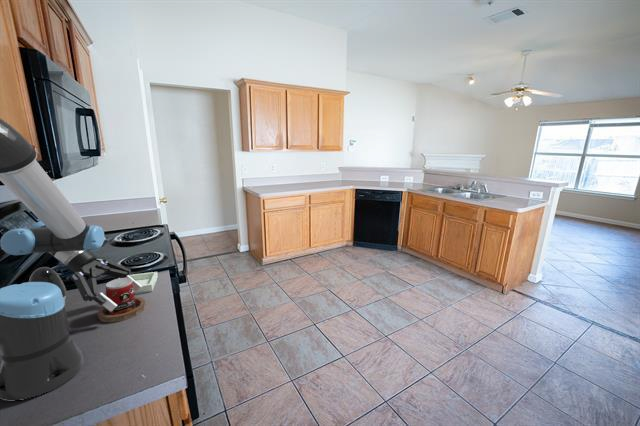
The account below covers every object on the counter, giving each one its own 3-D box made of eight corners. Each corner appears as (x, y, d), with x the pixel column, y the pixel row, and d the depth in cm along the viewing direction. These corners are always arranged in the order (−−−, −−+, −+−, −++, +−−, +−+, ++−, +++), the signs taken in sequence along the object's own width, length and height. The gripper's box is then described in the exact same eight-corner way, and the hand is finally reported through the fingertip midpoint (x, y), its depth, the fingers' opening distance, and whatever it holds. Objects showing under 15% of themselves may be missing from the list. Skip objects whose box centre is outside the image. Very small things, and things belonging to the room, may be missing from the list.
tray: (152, 291, 112) (151, 284, 111) (110, 297, 107) (109, 290, 106) (157, 277, 125) (157, 271, 124) (120, 282, 119) (120, 276, 119)
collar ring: (140, 317, 94) (140, 312, 94) (92, 325, 89) (91, 320, 89) (148, 299, 106) (148, 294, 106) (106, 305, 101) (105, 300, 101)
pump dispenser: (39, 317, 93) (31, 275, 90) (22, 311, 96) (13, 270, 93) (75, 303, 102) (68, 264, 99) (58, 298, 106) (51, 260, 103)
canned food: (114, 320, 92) (109, 289, 90) (106, 311, 97) (101, 282, 95) (139, 310, 98) (136, 281, 96) (130, 303, 103) (127, 275, 101)
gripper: (97, 252, 106) (142, 288, 109) (34, 280, 81) (93, 326, 85) (110, 239, 105) (154, 276, 109) (49, 263, 81) (109, 310, 84)
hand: (127, 298), depth 97 cm, fingers open, 13 cm apart
